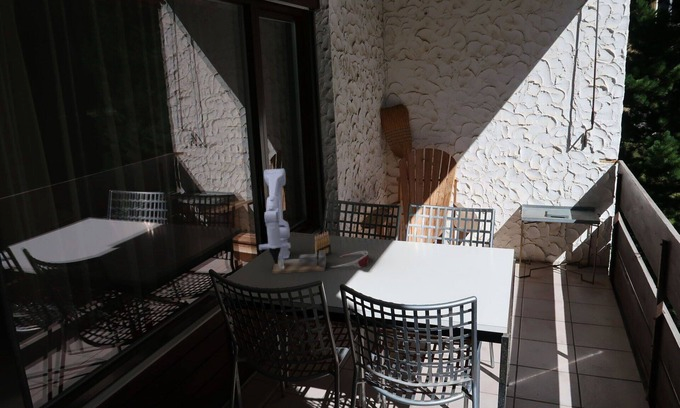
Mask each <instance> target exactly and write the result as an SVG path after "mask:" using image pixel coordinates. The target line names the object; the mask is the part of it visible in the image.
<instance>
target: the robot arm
mask: <svg viewBox="0 0 680 408" xmlns="http://www.w3.org/2000/svg"><path fill="white" fill-rule="evenodd" d="M263 178H264V179H263V180H264V182H265V184H266V185H267V186H268V192H269V193H268V195H269V196H268V197H267V198H266V205H265V206H266V207H265V208H266V210H265V211H264V222H265V227H266V234H267V243H264V244H263V243H262V244H259V245H258V250H259V251H262V250H268V251H269V252H268V253H269V254H270V255H271V256H272V257H271V258H272V259H273V262H274V264H278V259H279V255H283V259H290V254H291V251H290V250H289V249H291V242H288V239H290V236H291V233H290V232H291V231H290V224H289V222H288V221H286V220H285V219H284V213H283V194H282V190H283V187H284V186H286V182H287V181H286V170H285V168H283V167H282V168H273V169H264V171H263Z"/></svg>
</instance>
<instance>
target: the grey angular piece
mask: <svg viewBox="0 0 680 408" xmlns="http://www.w3.org/2000/svg"><path fill="white" fill-rule="evenodd" d="M282 259H283V262H282ZM295 262H300V259H299V258H294V259H290V258H289V259H284V258H283V255H279V259H278V264H279V268H280V270H282V266H283V263H295Z"/></svg>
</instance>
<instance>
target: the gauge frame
mask: <svg viewBox="0 0 680 408" xmlns="http://www.w3.org/2000/svg"><path fill="white" fill-rule="evenodd" d="M326 257H327V256H326V253H325V250H319V260H317V254H315V253H309V254H308V253H307V254H299V257H298V259H300V262H295V263H283V265H284V269H282V270H280V268H279V264H275V263H274V264H273V268H272V275H274V274H290V273H291V274H292V273H306V272H307V273H308V272H309V273H310V272H323V271H326V268H327V258H326Z"/></svg>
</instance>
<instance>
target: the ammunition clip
mask: <svg viewBox="0 0 680 408" xmlns="http://www.w3.org/2000/svg"><path fill="white" fill-rule="evenodd" d="M331 246H332V245H331V242H330V235H329V231H328V230H326V231H324V232H322V233H320V234H317V235H315V236H314V254H317V260H319V250H325V253H326V257H328V256H330V255H332V247H331Z"/></svg>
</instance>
